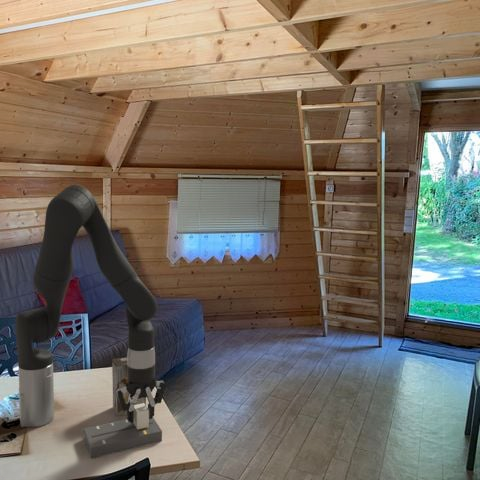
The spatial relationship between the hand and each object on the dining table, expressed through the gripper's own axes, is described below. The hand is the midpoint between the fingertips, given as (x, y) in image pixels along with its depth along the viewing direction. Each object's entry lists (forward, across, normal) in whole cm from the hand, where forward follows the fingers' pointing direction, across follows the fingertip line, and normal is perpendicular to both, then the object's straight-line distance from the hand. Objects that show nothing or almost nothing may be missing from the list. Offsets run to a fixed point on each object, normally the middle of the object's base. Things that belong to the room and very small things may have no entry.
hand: (140, 419), depth 131 cm
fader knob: (+1, 0, 0) cm, 1 cm away
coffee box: (+5, +1, +16) cm, 17 cm away
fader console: (+5, -5, 0) cm, 7 cm away
